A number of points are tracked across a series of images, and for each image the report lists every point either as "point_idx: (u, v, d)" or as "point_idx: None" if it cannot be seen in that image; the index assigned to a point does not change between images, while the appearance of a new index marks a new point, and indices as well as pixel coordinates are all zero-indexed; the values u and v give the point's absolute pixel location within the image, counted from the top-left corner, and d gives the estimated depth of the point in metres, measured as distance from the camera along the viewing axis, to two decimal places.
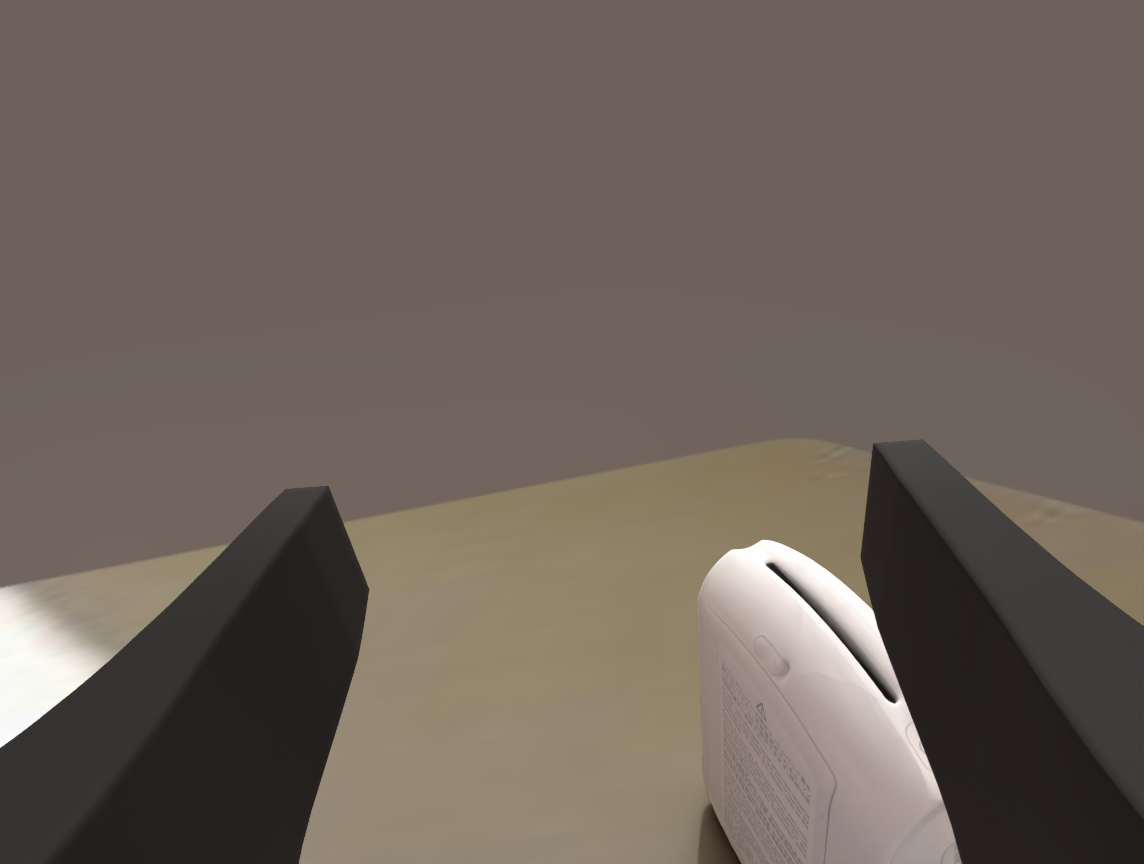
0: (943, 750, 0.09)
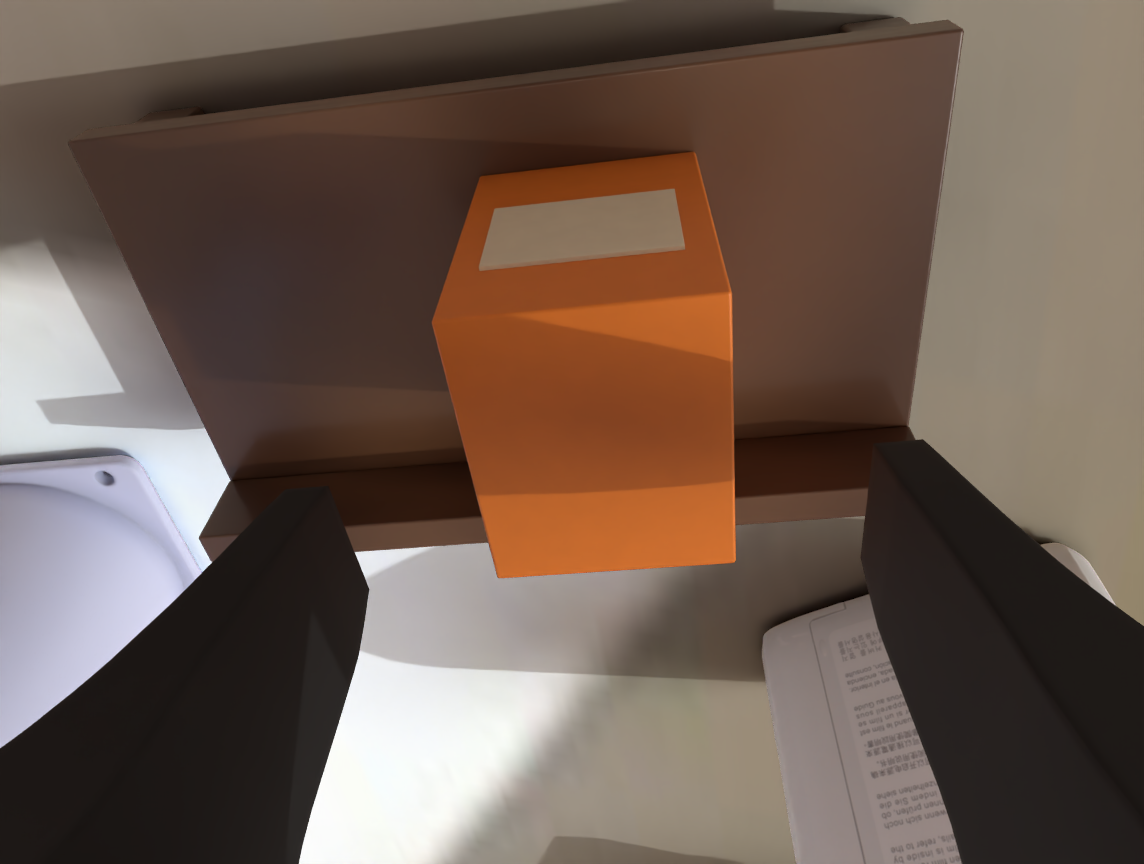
0: (943, 750, 0.09)
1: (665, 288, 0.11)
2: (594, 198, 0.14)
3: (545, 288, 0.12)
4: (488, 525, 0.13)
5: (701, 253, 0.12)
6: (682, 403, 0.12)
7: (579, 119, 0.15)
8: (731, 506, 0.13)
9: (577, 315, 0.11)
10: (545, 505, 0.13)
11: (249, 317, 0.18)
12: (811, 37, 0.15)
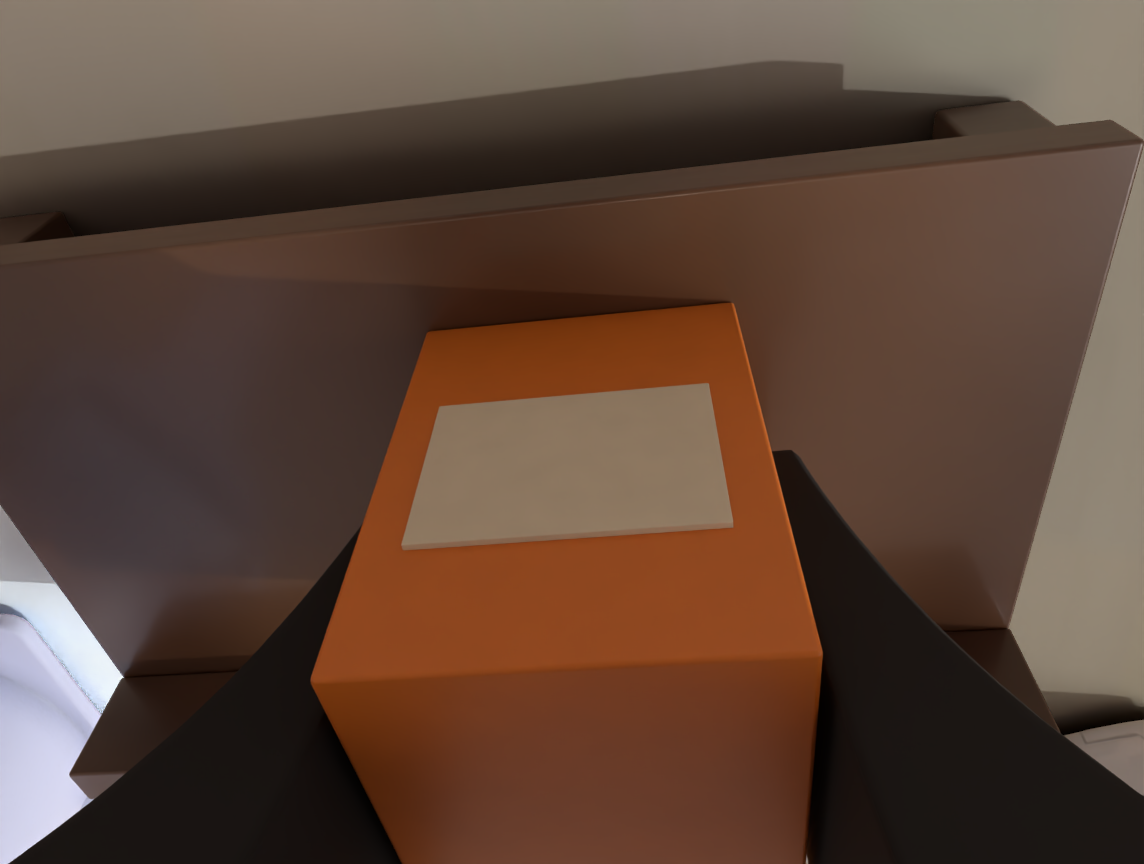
0: None
1: (706, 629, 0.07)
2: (588, 394, 0.09)
3: (504, 609, 0.07)
4: None
5: (761, 540, 0.07)
6: (728, 781, 0.07)
7: (570, 259, 0.10)
8: None
9: (555, 677, 0.06)
10: None
11: (125, 498, 0.13)
12: None
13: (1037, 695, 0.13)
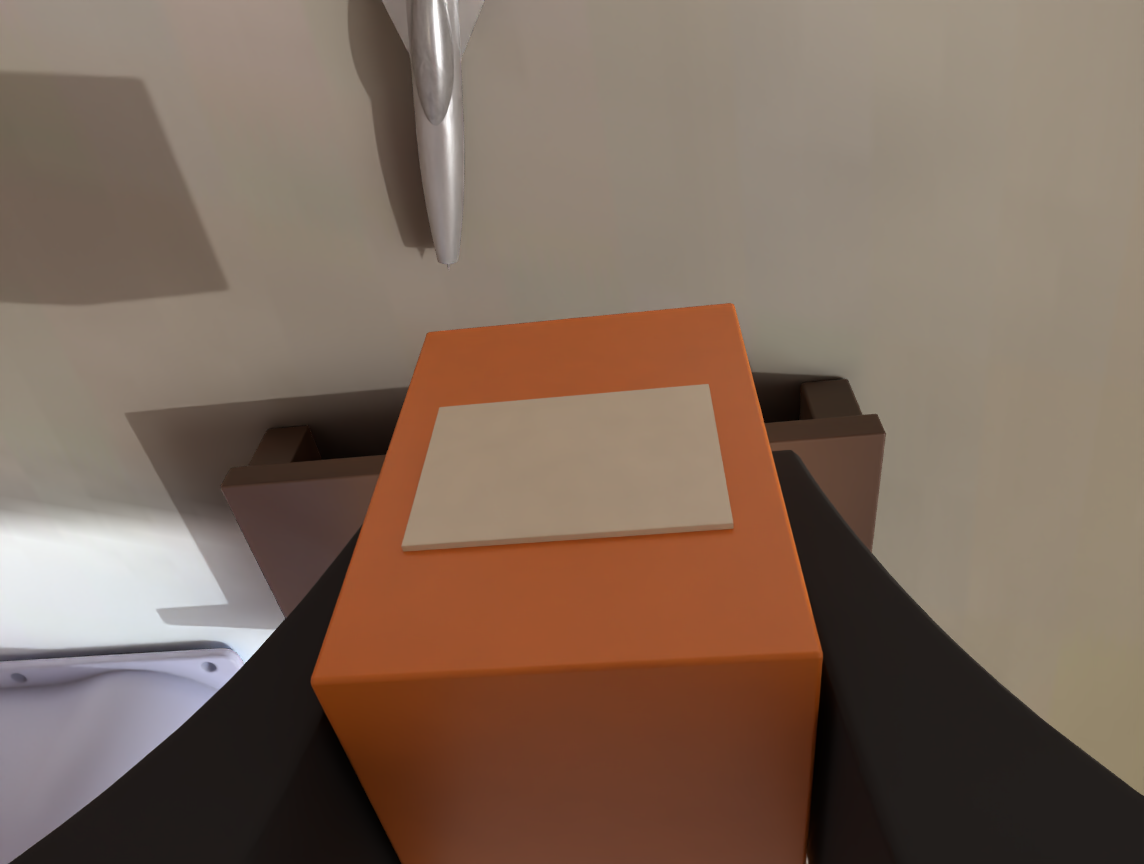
0: None
1: (706, 631, 0.07)
2: (588, 395, 0.09)
3: (503, 610, 0.07)
4: None
5: (762, 542, 0.07)
6: (728, 783, 0.07)
7: None
8: None
9: (555, 680, 0.06)
10: None
11: None
12: (776, 422, 0.20)
13: None
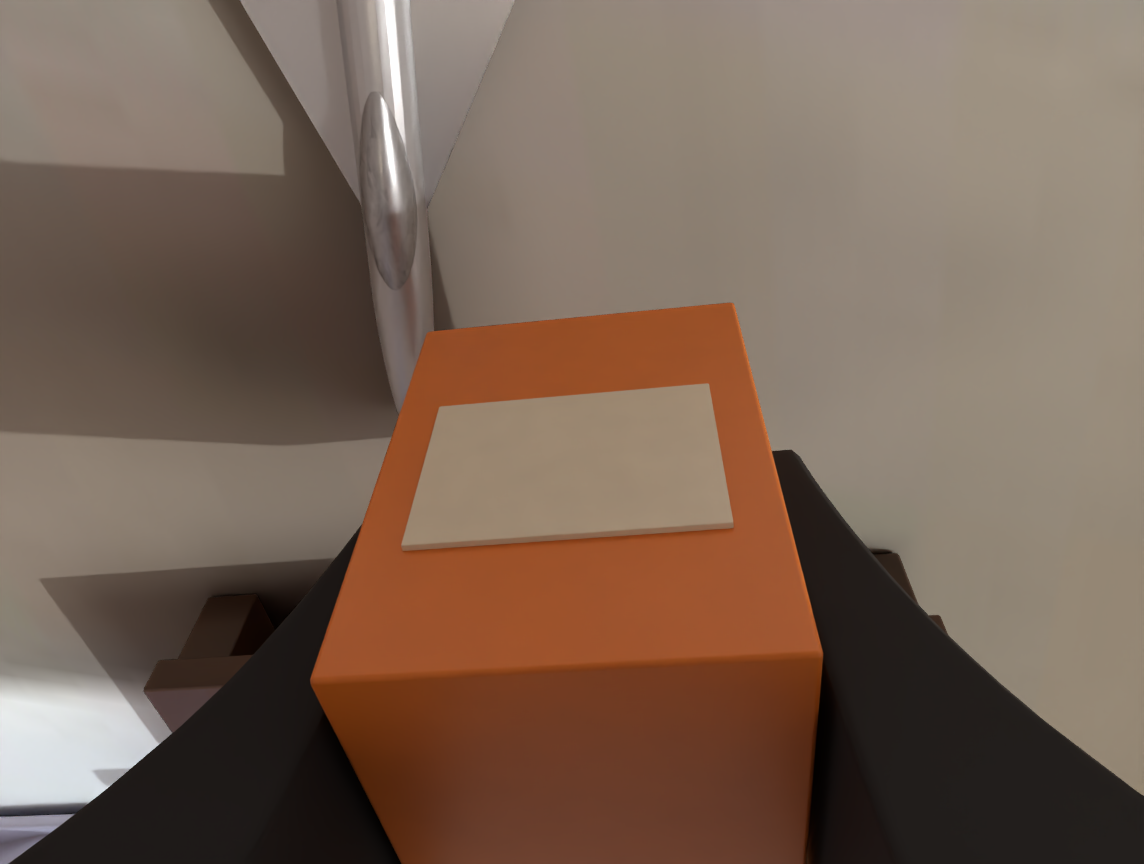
0: None
1: (707, 630, 0.07)
2: (588, 394, 0.09)
3: (504, 609, 0.07)
4: None
5: (761, 541, 0.07)
6: (728, 782, 0.07)
7: None
8: None
9: (555, 679, 0.06)
10: None
11: None
12: None
13: None
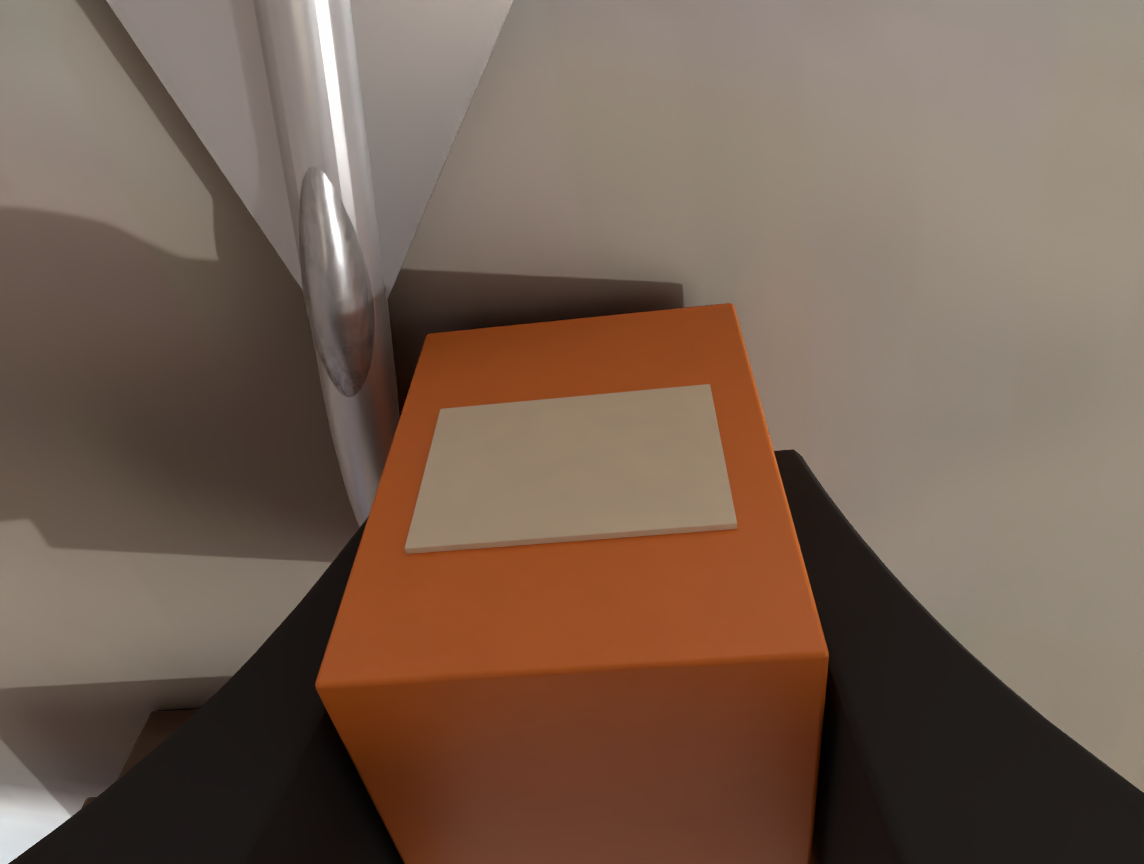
0: None
1: (712, 632, 0.07)
2: (589, 396, 0.09)
3: (509, 613, 0.07)
4: None
5: (767, 541, 0.07)
6: (734, 783, 0.07)
7: None
8: None
9: (561, 682, 0.06)
10: None
11: None
12: None
13: None
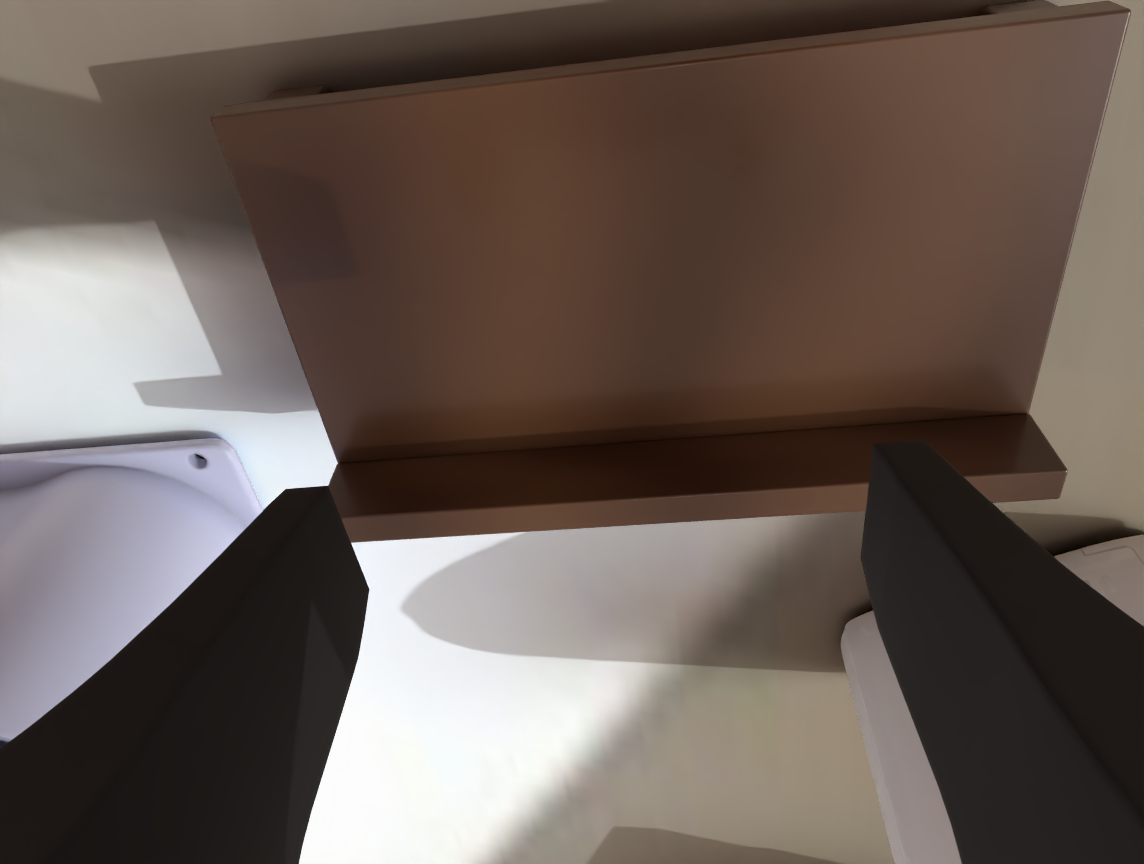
0: (943, 750, 0.09)
1: None
2: None
3: None
4: None
5: None
6: None
7: (731, 98, 0.15)
8: None
9: None
10: None
11: (375, 297, 0.17)
12: (968, 17, 0.15)
13: (1050, 450, 0.18)
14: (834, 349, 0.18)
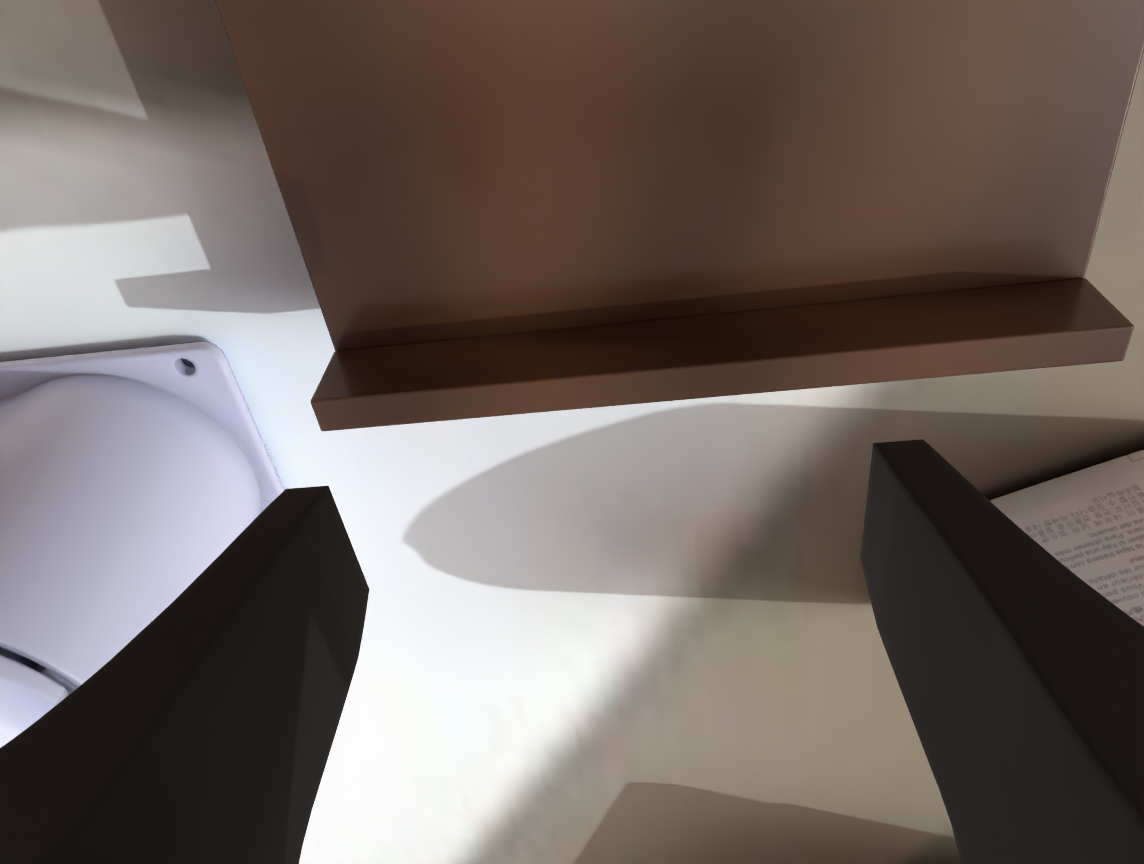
0: (943, 750, 0.09)
1: None
2: None
3: None
4: None
5: None
6: None
7: None
8: None
9: None
10: None
11: (374, 149, 0.16)
12: None
13: (1113, 308, 0.16)
14: (875, 203, 0.16)
